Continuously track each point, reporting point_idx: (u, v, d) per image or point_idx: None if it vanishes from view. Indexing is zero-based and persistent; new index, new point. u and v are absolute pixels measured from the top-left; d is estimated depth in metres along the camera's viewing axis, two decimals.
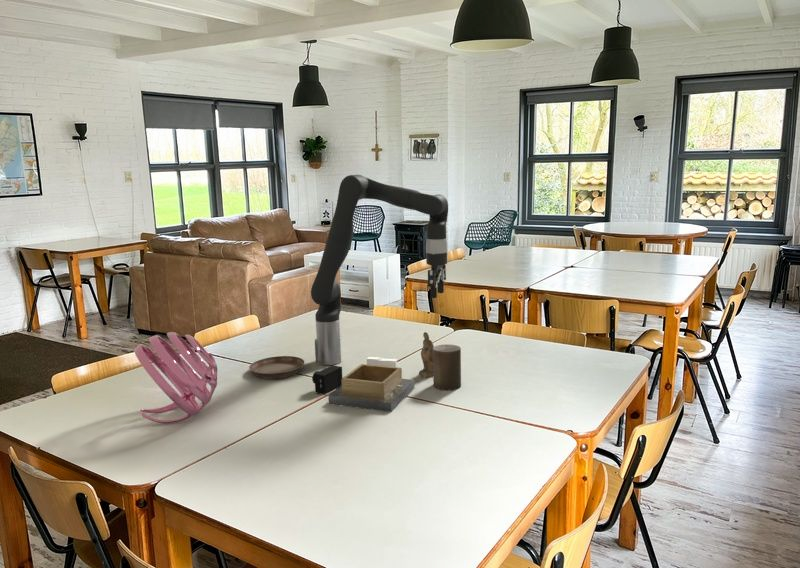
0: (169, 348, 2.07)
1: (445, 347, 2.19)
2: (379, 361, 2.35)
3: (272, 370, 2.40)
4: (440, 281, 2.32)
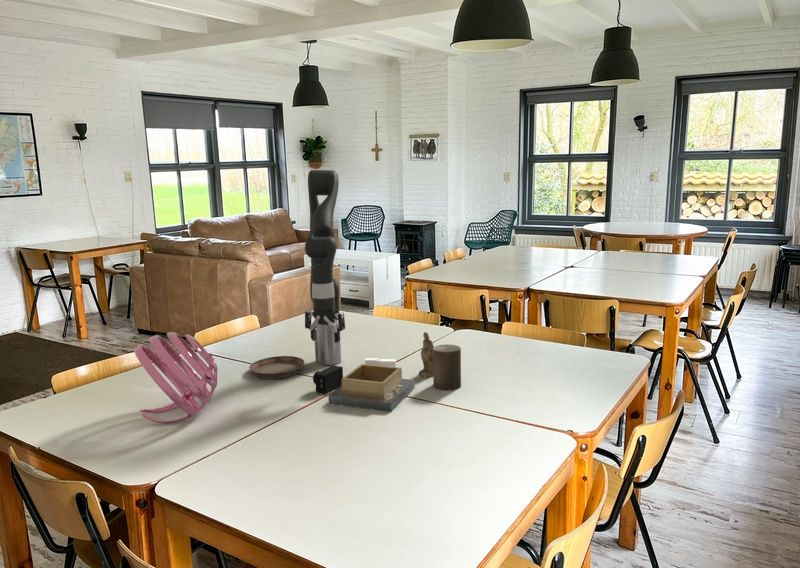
0: (169, 348, 2.07)
1: (445, 347, 2.19)
2: (378, 362, 2.34)
3: (272, 370, 2.40)
4: (314, 328, 2.18)
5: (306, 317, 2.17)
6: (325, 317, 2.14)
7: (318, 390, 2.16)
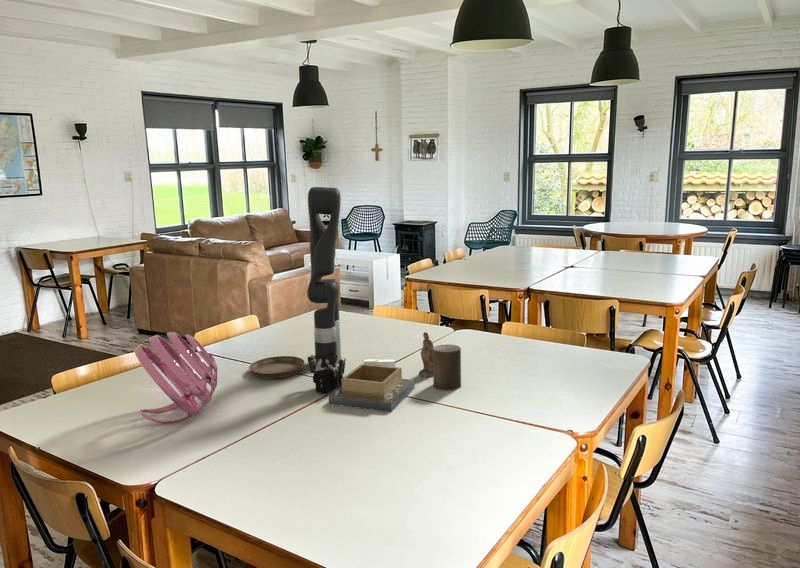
0: (169, 348, 2.07)
1: (445, 347, 2.19)
2: (378, 363, 2.33)
3: (272, 370, 2.40)
4: None
5: (309, 362, 2.20)
6: (327, 361, 2.16)
7: (318, 390, 2.16)
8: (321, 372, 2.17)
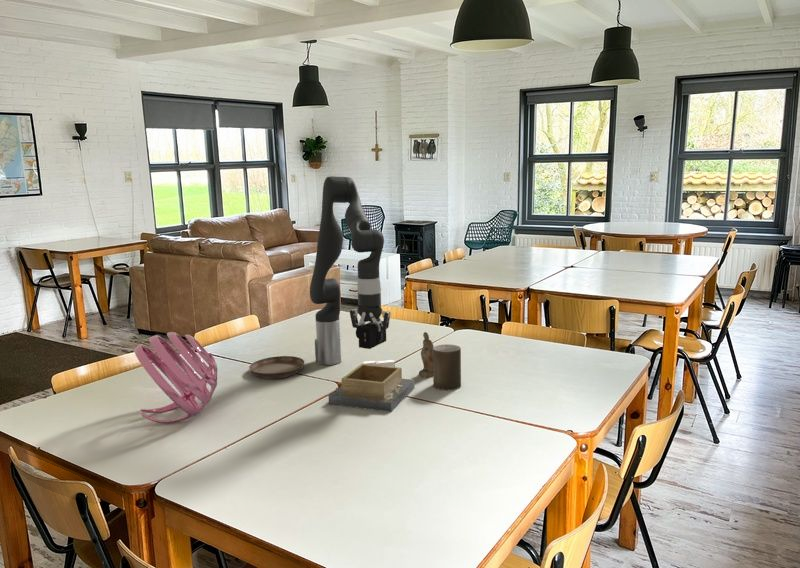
0: (169, 348, 2.07)
1: (445, 347, 2.19)
2: (378, 364, 2.32)
3: (272, 370, 2.40)
4: None
5: (352, 316, 2.08)
6: (371, 314, 2.05)
7: (361, 344, 2.05)
8: (365, 326, 2.05)
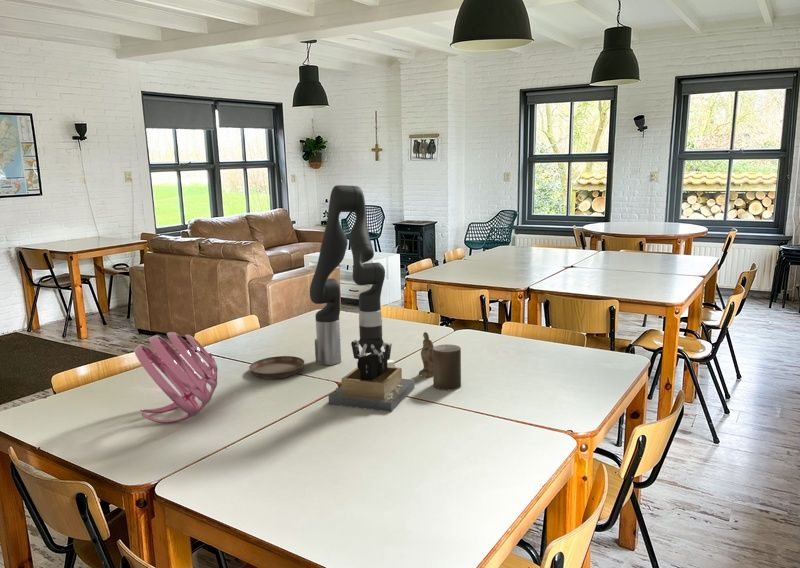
0: (169, 348, 2.07)
1: (445, 347, 2.19)
2: None
3: (272, 370, 2.40)
4: None
5: (353, 347, 2.10)
6: (372, 346, 2.07)
7: (363, 376, 2.07)
8: (366, 357, 2.07)
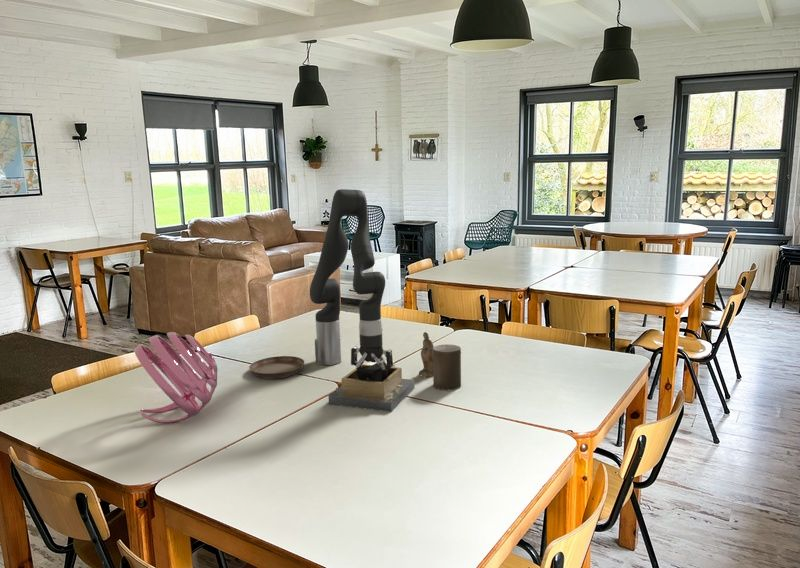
0: (169, 348, 2.07)
1: (445, 347, 2.19)
2: None
3: (272, 370, 2.40)
4: (360, 365, 2.12)
5: (352, 354, 2.11)
6: (373, 354, 2.08)
7: None
8: (367, 370, 2.08)
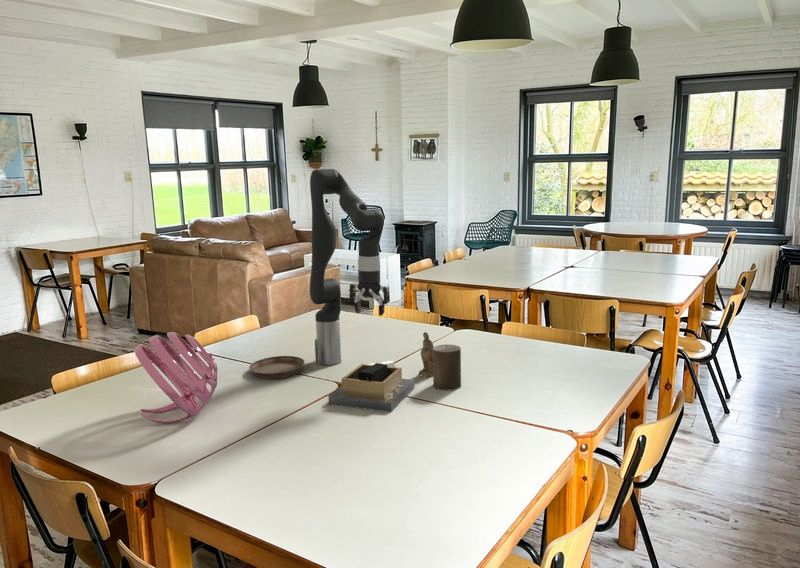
0: (169, 348, 2.07)
1: (445, 347, 2.19)
2: None
3: (272, 370, 2.40)
4: (358, 300, 2.20)
5: (351, 289, 2.19)
6: (370, 290, 2.15)
7: None
8: (367, 370, 2.08)
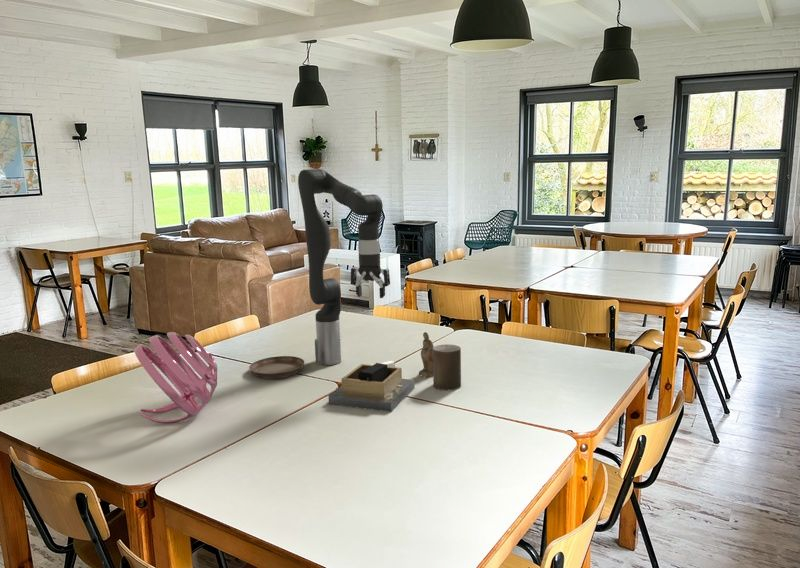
0: (169, 348, 2.07)
1: (445, 347, 2.19)
2: None
3: (272, 370, 2.40)
4: (359, 284, 2.26)
5: (352, 273, 2.24)
6: (371, 273, 2.21)
7: None
8: (367, 370, 2.08)
